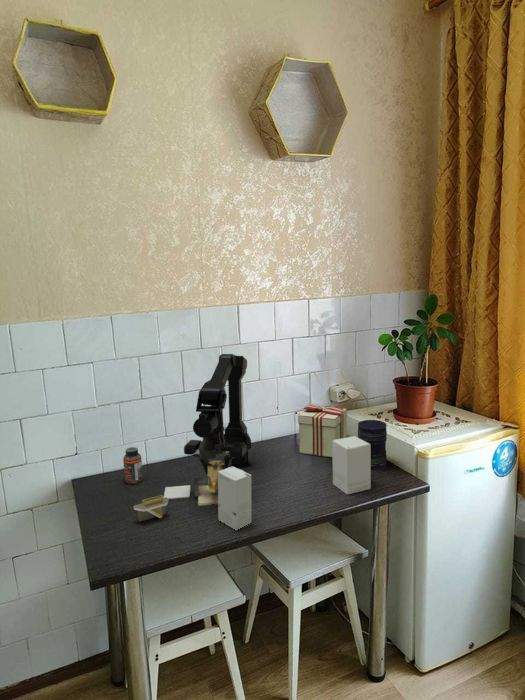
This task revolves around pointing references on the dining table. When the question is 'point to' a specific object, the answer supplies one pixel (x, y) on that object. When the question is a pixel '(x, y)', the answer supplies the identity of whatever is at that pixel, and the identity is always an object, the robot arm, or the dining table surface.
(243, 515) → the skincare box
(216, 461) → the brass bell
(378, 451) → the storage jar
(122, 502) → the dining table surface
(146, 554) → the dining table surface
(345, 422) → the gift box
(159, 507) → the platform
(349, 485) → the supplement box
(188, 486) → the grey mat
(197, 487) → the cream slotted block
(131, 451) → the supplement bottle
